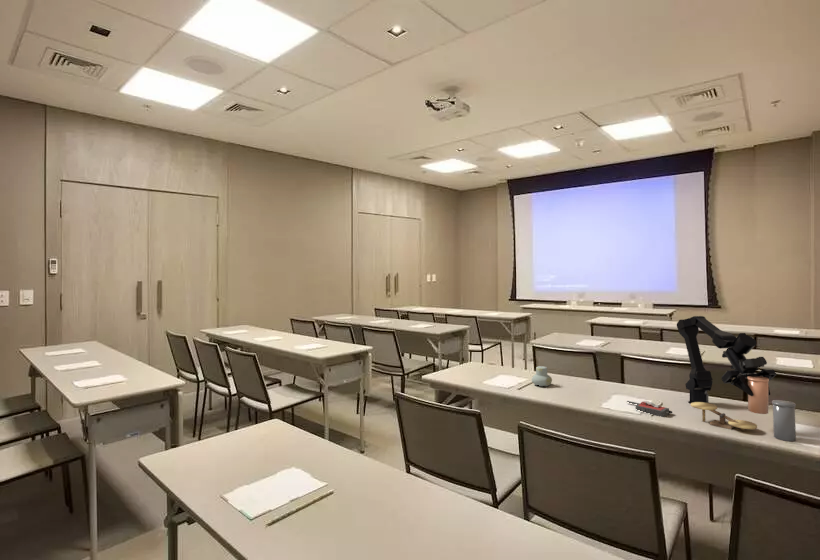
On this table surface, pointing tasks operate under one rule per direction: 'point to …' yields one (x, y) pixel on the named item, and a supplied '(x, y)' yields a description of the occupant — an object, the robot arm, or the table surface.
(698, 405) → the balance
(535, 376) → the air freshener
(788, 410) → the charcoal cup
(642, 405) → the walkie-talkie
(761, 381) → the terracotta cup
